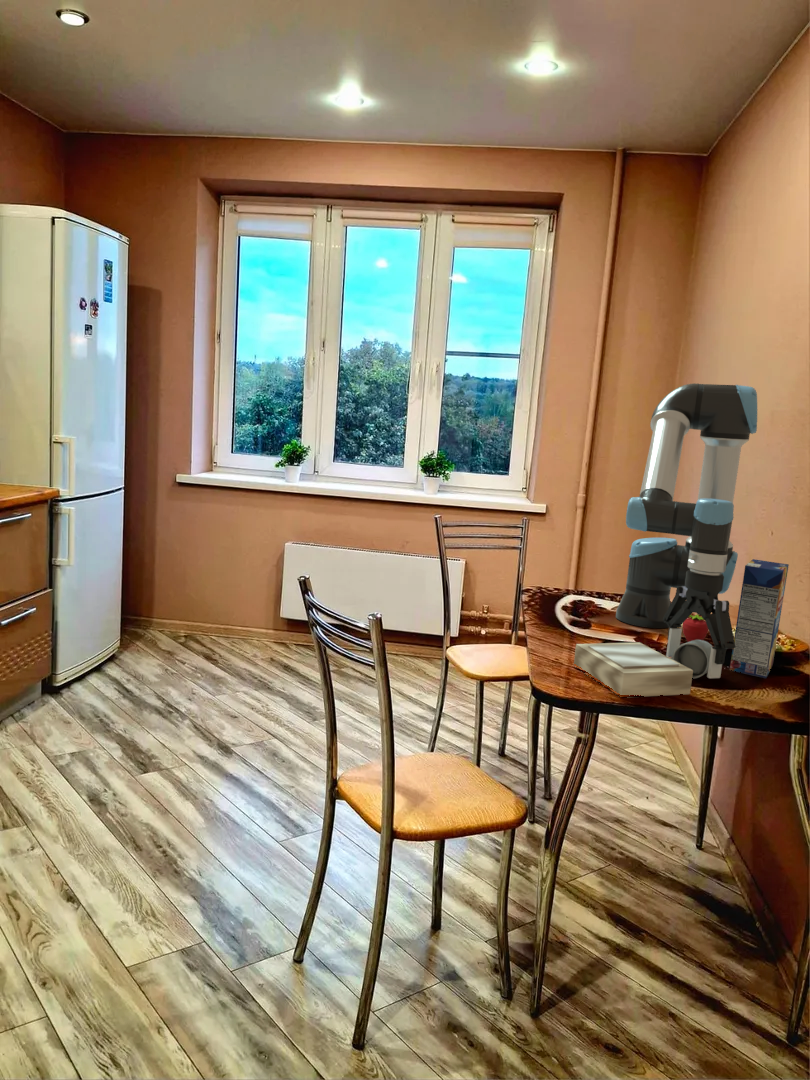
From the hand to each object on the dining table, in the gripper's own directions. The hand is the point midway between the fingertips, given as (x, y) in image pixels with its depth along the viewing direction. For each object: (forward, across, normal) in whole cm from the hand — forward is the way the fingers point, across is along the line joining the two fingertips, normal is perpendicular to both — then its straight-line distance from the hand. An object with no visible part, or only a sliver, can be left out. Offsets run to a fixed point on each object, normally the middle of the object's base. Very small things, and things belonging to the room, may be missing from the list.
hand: (692, 666), depth 157 cm
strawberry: (+2, -16, +13) cm, 21 cm away
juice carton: (+2, -2, +18) cm, 18 cm away
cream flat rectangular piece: (+2, +2, -17) cm, 17 cm away
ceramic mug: (+2, -1, 0) cm, 2 cm away
